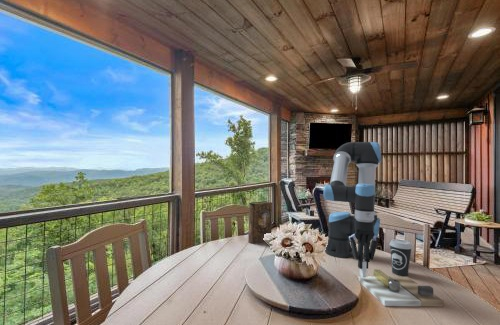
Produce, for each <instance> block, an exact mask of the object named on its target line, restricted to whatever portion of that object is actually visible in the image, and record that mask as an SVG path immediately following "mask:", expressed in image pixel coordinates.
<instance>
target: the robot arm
mask: <svg viewBox="0 0 500 325" xmlns="http://www.w3.org/2000/svg"><path fill="white" fill-rule="evenodd" d="M332 159H333V165H332V166H333V168H332V172H331V176H330V181H329V184H325V185H323V198H324V200H325V201H331V202H342V203H343V202H344V203H352V204H353V203H354V204H355V206H354V215H351V212H348V211H337V212H336V211H335V212H331V213H330V214H329V216H328V232H327V233H328V238H327V241H328V245H327V247H326V250H325V249H324V252H325V253H326V254H327V255H329V256H331V257H337V258H351V257H353V258H354V259H356V261H357V267H358V269H359V275H360V276H362V277H366V276H367V270H368V269H369V263H370V261H373V260H374V258H375V254H376V250H377V246H378V243H379V242H380V240H381V239H380V237H378V236H379V231H380V225H381V218H379V217H378V214H377V212H376V211H375V200H376V198H375V197H376V195H375V194H376V168H378V167H379V164H380V163H382V153H381V147H380V144H379V142H378V141H358V142H357V141H350V142H345V143H343V144H342V145H340V146H339V147H338V148H337V149H336V151H334V154H333V157H332ZM350 163H355V166H356V167H357V168H358V179H357V180H358V183H357V184H356V185H354V186H353V185H352V186H351V185H347V179H348V178H347V177H348V170H349V169H348V168H349V164H350ZM356 241H357V242H356Z"/></svg>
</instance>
